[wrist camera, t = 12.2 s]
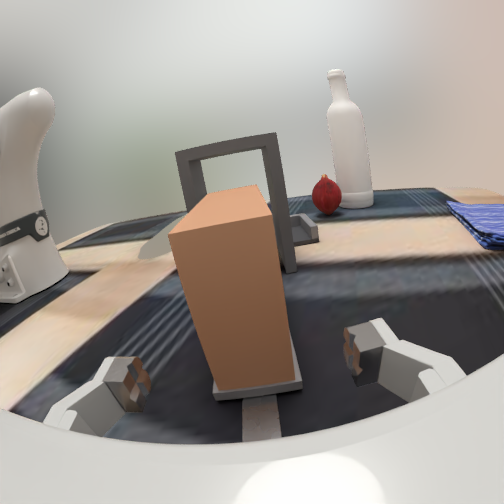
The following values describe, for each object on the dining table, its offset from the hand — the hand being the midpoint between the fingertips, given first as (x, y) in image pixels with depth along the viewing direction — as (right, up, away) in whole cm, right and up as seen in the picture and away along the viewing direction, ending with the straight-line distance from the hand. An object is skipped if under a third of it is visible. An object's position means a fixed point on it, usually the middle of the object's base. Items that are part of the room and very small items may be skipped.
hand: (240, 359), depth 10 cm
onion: (+15, +11, +42) cm, 46 cm away
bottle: (+23, +14, +47) cm, 54 cm away
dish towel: (+42, +8, +21) cm, 47 cm away
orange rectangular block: (+1, -2, +12) cm, 12 cm away
